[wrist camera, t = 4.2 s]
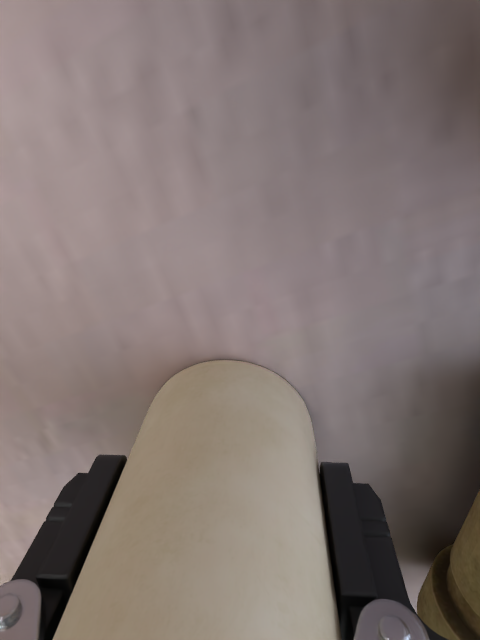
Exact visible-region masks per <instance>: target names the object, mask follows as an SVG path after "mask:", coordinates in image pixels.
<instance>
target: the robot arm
mask: <svg viewBox="0 0 480 640" xmlns="http://www.w3.org/2000/svg"><path fill="white" fill-rule="evenodd" d="M126 462H127V457H126V456H125V455H98V456H97V457H96V459H95V461H94V463H93V465H92V467H91V469H90V471H89V472H88V473H78V474H77V475H76V476H75V477H74V478H73V479H72V480H71V481H69V482H68V483H67V484H66V485H65V486H64V487H63V489H62V491H61V492H60V494H59V496H58V498H57V500H56V501H55V503H54V507H52V509H51V510H50V512H49V514H48V516H47V517H46V521H44V523H43V525H42V526H41V528H40V530H39V532H38V534H37V535H36V537H35V539H34V541H33V542H32V544H31V546H30V548H29V550H28V551H27V553H26V555H25V557H24V559H23V560H22V562H21V564H20V566H19V567H18V569H17V571H16V573H15V575H14V576H13V578H12V579H11V580H10V581H9V582H7V583H4V584H3V585H1V586H0V640H53V637H54V635H55V633H56V630H57V628H58V625H59V623H60V621H61V618H62V616H63V613H64V611H65V609H66V606H67V604H68V601H69V599H70V597H71V594H72V592H73V589H74V587H75V585H76V582H77V580H78V577H79V575H80V573H81V570H82V568H83V565H84V563H85V561H86V558H87V556H88V553H89V551H90V549H91V546H92V544H93V541H94V539H95V537H96V534H97V532H98V529H99V527H100V524H101V522H102V520H103V517H104V515H105V512H106V510H107V508H108V505H109V503H110V500H111V498H112V496H113V493H114V491H115V488H116V486H117V484H118V481H119V479H120V476H121V474H122V472H123V469H124V467H125V464H126ZM320 482H321V489H322V496H323V504H324V511H325V519H326V526H327V534H328V541H329V548H330V556H331V563H332V571H333V578H334V586H335V593H336V600H337V608H338V615H339V623H340V630H341V638H342V640H448V639H446V638H444V637H442V636H440V635H439V634H437V633H436V632H434V631H433V630H432V629H430V628H429V627H428V626H427V625H426V624H425V623H424V622H423V621H422V620H421V619H420V618H419V616H418V615H417V614H416V612H415V611H414V609H413V607H412V605H411V603H410V601H409V598H408V595H407V591H406V588H405V584H404V581H403V577H402V574H401V570H400V567H399V563H398V560H397V556H396V552H395V549H394V545H393V542H392V538H391V537H390V531H389V528H388V524H387V522H386V517H385V514H384V510H383V506H382V503H381V500H380V498H379V497H378V496H377V494H376V493H375V492H374V491H373V489H372V488H371V487H370V485H369V484H361V483H353V482H352V477H351V473H350V468H349V465H348V463H331V462H321V465H320Z"/></svg>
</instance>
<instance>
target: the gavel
mask: <svg viewBox="0 0 480 640" xmlns="http://www.w3.org/2000/svg"><path fill="white" fill-rule="evenodd" d="M417 615H418V616H419V618H420V619H421V620H422V621H423V622H424V623H425V624H426V625H427V626H428V627H429V628H430V629H432V630H433V631H434V632H436V633H437V634H439V635H440V636H442V637H444V638H446V639H448V640H480V490H479V492H478V494H477V496H476V498H475V500H474V502H473V504H472V506H471V508H470V511H469V513H468V515H467V517H466V519H465V521H464V523H463V525H462V527H461V529H460V531H459V533H458V536H457V538H456V540H455V542H454V544H452V545H449V546H447V547H446V548H444V549H442V550H441V551H440V552H439V554H438V555H437V556H436V557H435V559H434V562H433V564H432V566H431V568H430V570H429V572H428V575H427V577H426V579H425V581H424V583H423V585H422V588H421V590H420V592H419V595H418V601H417Z"/></svg>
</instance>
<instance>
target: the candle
mask: <svg viewBox="0 0 480 640" xmlns="http://www.w3.org/2000/svg"><path fill="white" fill-rule="evenodd" d="M53 640H342V638H341V630H340V623H339V615H338V608H337V600H336V593H335V586H334V578H333V571H332V563H331V556H330V548H329V541H328V534H327V526H326V519H325V511H324V504H323V496H322V489H321V482H320V474H319V467H318V459H317V452H316V444H315V438H314V432H313V426H312V422H311V418H310V415H309V412H308V410H307V408H306V405H305V403H304V401H303V400H302V398H301V396H300V395H299V393H298V392H297V391H296V390H295V389H294V387H292V386H291V385H290V384H289V383H288V382H287V381H286V380H285V379H283V378H282V377H280V376H279V375H278V374H276V373H274V372H272V371H270V370H268V369H266V368H263V367H261V366H258V365H255V364H251V363H248V362H242V361H236V360H216V361H208V362H203V363H199V364H196V365H193V366H191V367H188V368H186V369H184V370H182V371H180V372H179V373H177V374H176V375H174V376H173V377H172V378H171V379H169V380H168V381H167V382H166V383H165V384H164V385H163V387H162V388H161V389H160V390H159V392H158V393H157V395H156V396H155V398H154V399H153V401H152V403H151V405H150V408H149V410H148V412H147V414H146V416H145V419H144V421H143V424H142V426H141V428H140V431H139V433H138V436H137V438H136V440H135V443H134V445H133V448H132V450H131V452H130V455H129V457H128V460H127V462H126V464H125V467H124V469H123V472H122V474H121V476H120V479H119V481H118V484H117V486H116V488H115V491H114V493H113V496H112V498H111V500H110V503H109V505H108V508H107V510H106V512H105V515H104V517H103V520H102V522H101V524H100V527H99V529H98V532H97V534H96V537H95V539H94V541H93V544H92V546H91V549H90V551H89V553H88V556H87V558H86V561H85V563H84V565H83V568H82V570H81V573H80V575H79V577H78V580H77V582H76V585H75V587H74V589H73V592H72V594H71V597H70V599H69V601H68V604H67V606H66V609H65V611H64V613H63V616H62V618H61V621H60V623H59V625H58V628H57V630H56V633H55V635H54V637H53Z"/></svg>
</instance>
